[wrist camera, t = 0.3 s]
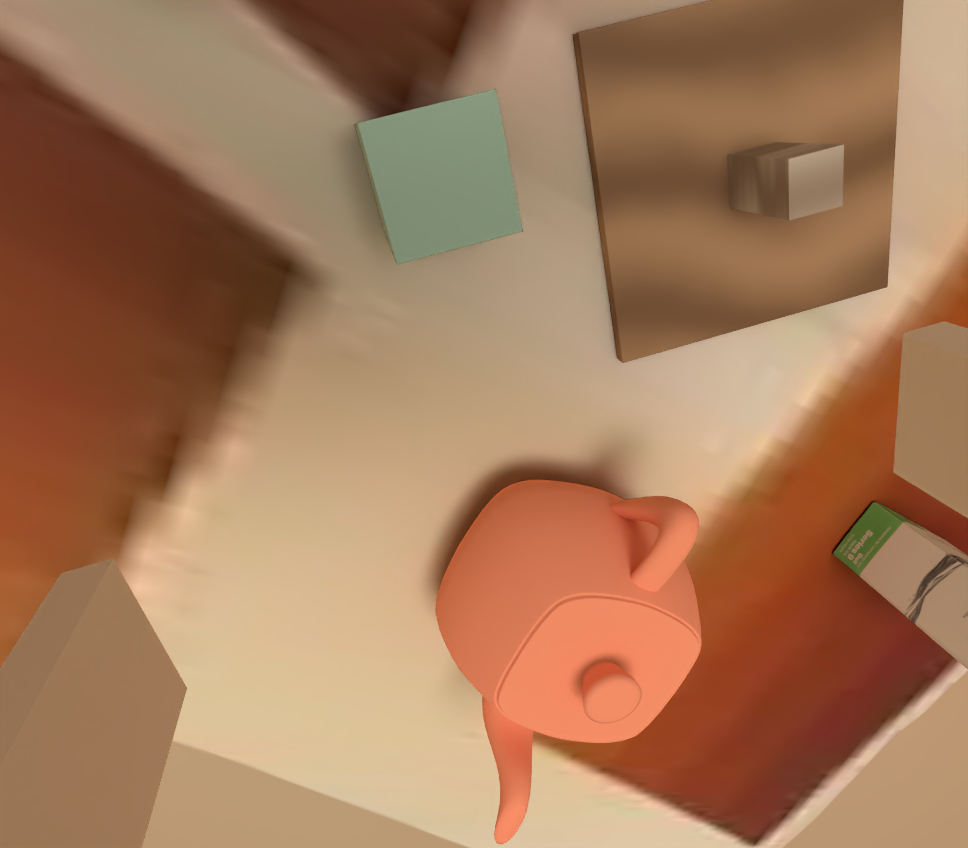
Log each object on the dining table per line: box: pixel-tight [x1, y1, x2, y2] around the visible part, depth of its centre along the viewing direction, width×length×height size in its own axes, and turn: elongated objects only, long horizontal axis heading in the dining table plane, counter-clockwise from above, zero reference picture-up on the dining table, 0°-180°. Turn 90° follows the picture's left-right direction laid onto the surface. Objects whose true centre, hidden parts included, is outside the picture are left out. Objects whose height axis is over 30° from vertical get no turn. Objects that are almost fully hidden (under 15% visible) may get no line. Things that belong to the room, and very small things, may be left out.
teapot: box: [436, 480, 701, 844], centre depth 36 cm, size 13×20×12 cm, turn 152°
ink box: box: [833, 502, 968, 669], centre depth 42 cm, size 9×5×12 cm, turn 59°
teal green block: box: [355, 89, 523, 265], centre depth 28 cm, size 5×5×7 cm
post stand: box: [573, 0, 903, 363], centre depth 31 cm, size 16×16×6 cm
